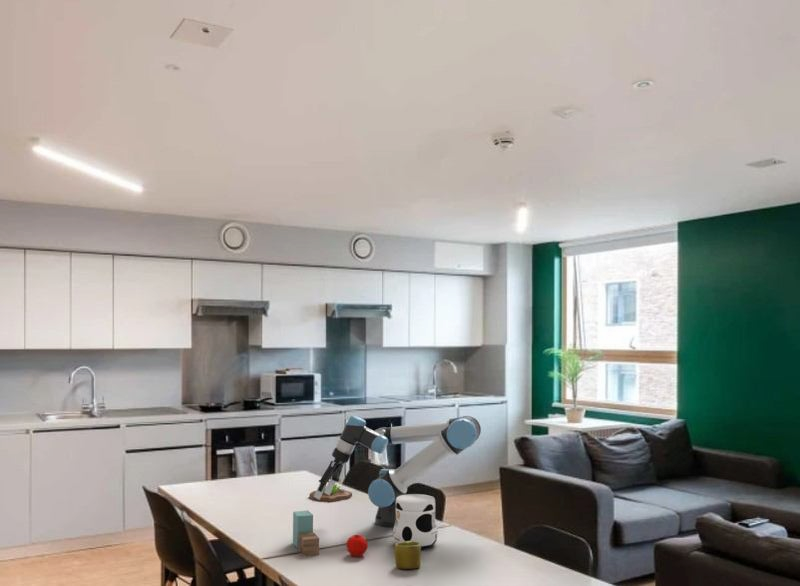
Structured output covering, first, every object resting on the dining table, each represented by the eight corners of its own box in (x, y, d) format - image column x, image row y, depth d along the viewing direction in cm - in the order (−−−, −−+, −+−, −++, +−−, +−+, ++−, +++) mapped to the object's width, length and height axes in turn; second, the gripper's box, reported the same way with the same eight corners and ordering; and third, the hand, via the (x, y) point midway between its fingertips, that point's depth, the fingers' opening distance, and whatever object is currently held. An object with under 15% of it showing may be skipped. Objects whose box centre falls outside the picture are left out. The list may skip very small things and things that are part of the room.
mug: (422, 567, 242) (415, 537, 245) (394, 575, 243) (387, 545, 246) (430, 564, 253) (423, 535, 256) (403, 571, 255) (396, 542, 258)
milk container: (386, 541, 280) (387, 495, 281) (426, 536, 286) (426, 492, 287) (403, 553, 264) (403, 504, 265) (444, 548, 270) (444, 501, 271)
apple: (347, 552, 265) (347, 532, 265) (368, 552, 265) (368, 532, 265) (345, 558, 257) (345, 538, 257) (366, 559, 257) (366, 538, 257)
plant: (302, 498, 355) (302, 476, 355) (327, 492, 371) (328, 470, 371) (332, 504, 343) (333, 481, 344) (357, 497, 359) (357, 475, 360)
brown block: (319, 554, 262) (319, 538, 262) (303, 556, 260) (303, 539, 260) (313, 547, 270) (313, 531, 271) (297, 549, 268) (297, 533, 268)
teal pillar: (312, 546, 271) (313, 515, 272) (297, 548, 269) (297, 516, 269) (307, 541, 278) (308, 510, 279) (292, 542, 276) (293, 511, 277)
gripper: (344, 444, 314) (323, 488, 313) (326, 448, 290) (304, 495, 289) (358, 452, 312) (338, 496, 311) (342, 456, 288) (320, 504, 287)
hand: (321, 496), depth 300 cm, fingers open, 13 cm apart
